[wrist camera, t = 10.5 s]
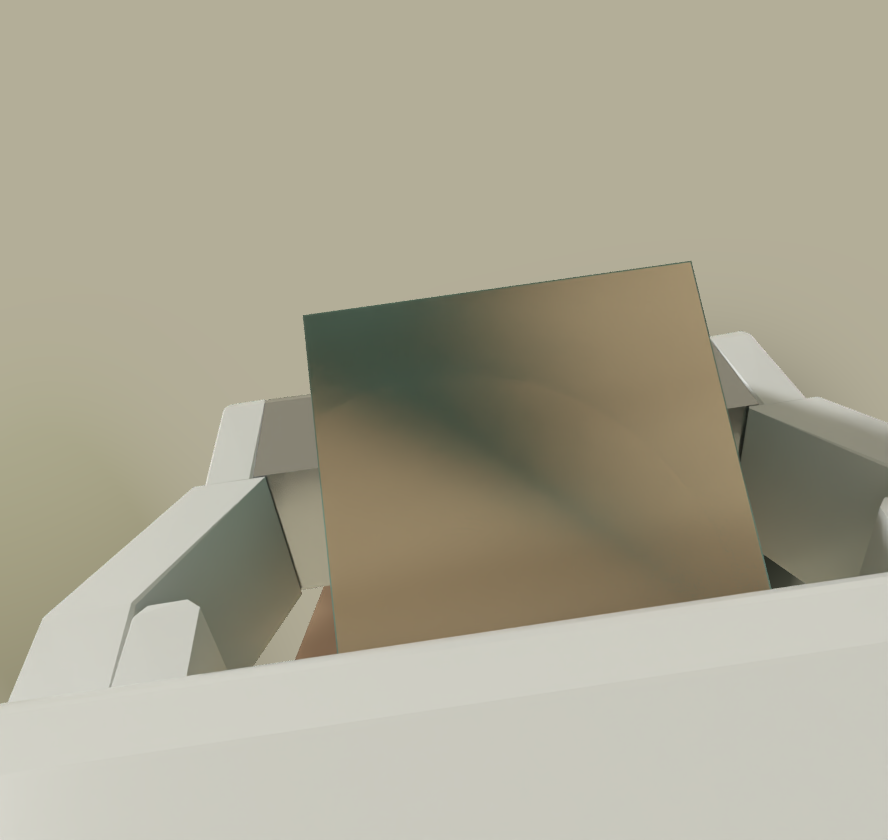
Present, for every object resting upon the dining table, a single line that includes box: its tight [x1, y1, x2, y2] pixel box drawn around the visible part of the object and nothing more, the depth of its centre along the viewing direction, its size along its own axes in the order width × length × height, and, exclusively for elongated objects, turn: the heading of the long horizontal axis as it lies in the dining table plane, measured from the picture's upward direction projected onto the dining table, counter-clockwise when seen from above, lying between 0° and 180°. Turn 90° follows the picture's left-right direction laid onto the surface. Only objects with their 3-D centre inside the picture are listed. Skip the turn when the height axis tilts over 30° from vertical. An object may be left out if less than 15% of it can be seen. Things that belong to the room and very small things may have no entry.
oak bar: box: [303, 261, 771, 654], centre depth 18 cm, size 24×4×4 cm, turn 2°
